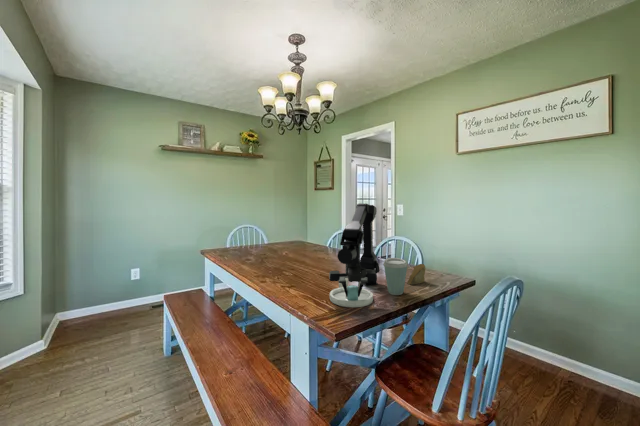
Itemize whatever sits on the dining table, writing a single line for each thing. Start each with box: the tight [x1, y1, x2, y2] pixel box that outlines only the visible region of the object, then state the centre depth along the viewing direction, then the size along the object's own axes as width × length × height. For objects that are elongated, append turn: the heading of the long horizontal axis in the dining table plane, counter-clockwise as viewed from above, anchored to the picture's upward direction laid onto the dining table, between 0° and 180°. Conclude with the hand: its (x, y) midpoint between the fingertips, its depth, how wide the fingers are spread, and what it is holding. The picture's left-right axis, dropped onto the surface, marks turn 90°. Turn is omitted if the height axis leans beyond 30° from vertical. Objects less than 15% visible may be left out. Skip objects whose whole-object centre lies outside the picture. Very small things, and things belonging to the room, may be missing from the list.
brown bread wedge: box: [407, 263, 426, 286], centre depth 144 cm, size 11×9×10 cm
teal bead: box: [347, 285, 358, 301], centre depth 116 cm, size 4×4×5 cm
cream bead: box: [338, 278, 349, 288], centre depth 136 cm, size 4×4×5 cm
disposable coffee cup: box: [382, 257, 408, 296], centre depth 129 cm, size 11×11×15 cm
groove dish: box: [329, 287, 374, 308], centre depth 121 cm, size 18×18×2 cm
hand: (352, 296), depth 116 cm, fingers closed on teal bead, 4 cm apart
